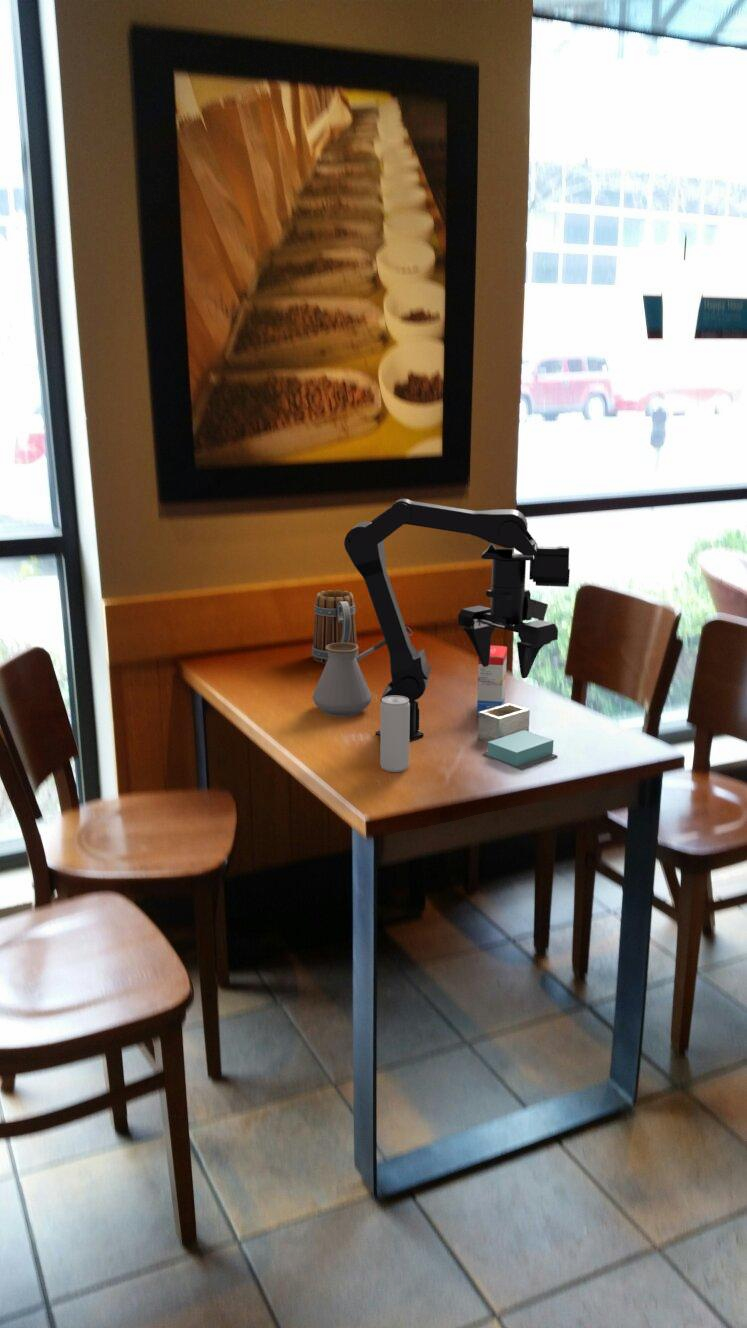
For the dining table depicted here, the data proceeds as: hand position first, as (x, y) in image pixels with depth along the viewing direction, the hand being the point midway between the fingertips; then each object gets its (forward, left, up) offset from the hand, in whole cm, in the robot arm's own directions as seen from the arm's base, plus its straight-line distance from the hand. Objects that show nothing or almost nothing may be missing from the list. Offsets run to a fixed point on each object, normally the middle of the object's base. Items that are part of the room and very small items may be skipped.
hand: (504, 672), depth 190 cm
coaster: (-3, -7, -13) cm, 15 cm away
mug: (+10, +59, -13) cm, 61 cm away
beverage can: (-23, +3, -13) cm, 27 cm away
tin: (+2, +2, -13) cm, 13 cm away
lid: (-3, -7, -12) cm, 14 cm away
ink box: (+12, +14, -13) cm, 23 cm away
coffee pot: (-6, +31, -13) cm, 34 cm away
